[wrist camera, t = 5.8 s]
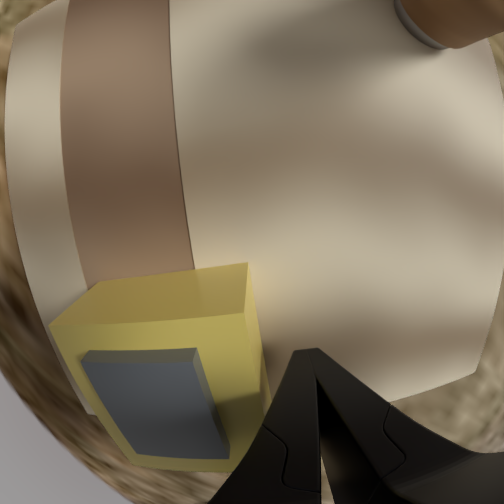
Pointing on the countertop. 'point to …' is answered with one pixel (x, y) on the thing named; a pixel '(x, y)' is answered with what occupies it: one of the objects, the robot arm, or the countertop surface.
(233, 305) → the block
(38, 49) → the plywood panel
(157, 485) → the countertop surface
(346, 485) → the robot arm
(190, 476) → the countertop surface
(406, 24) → the wooden tool handle
